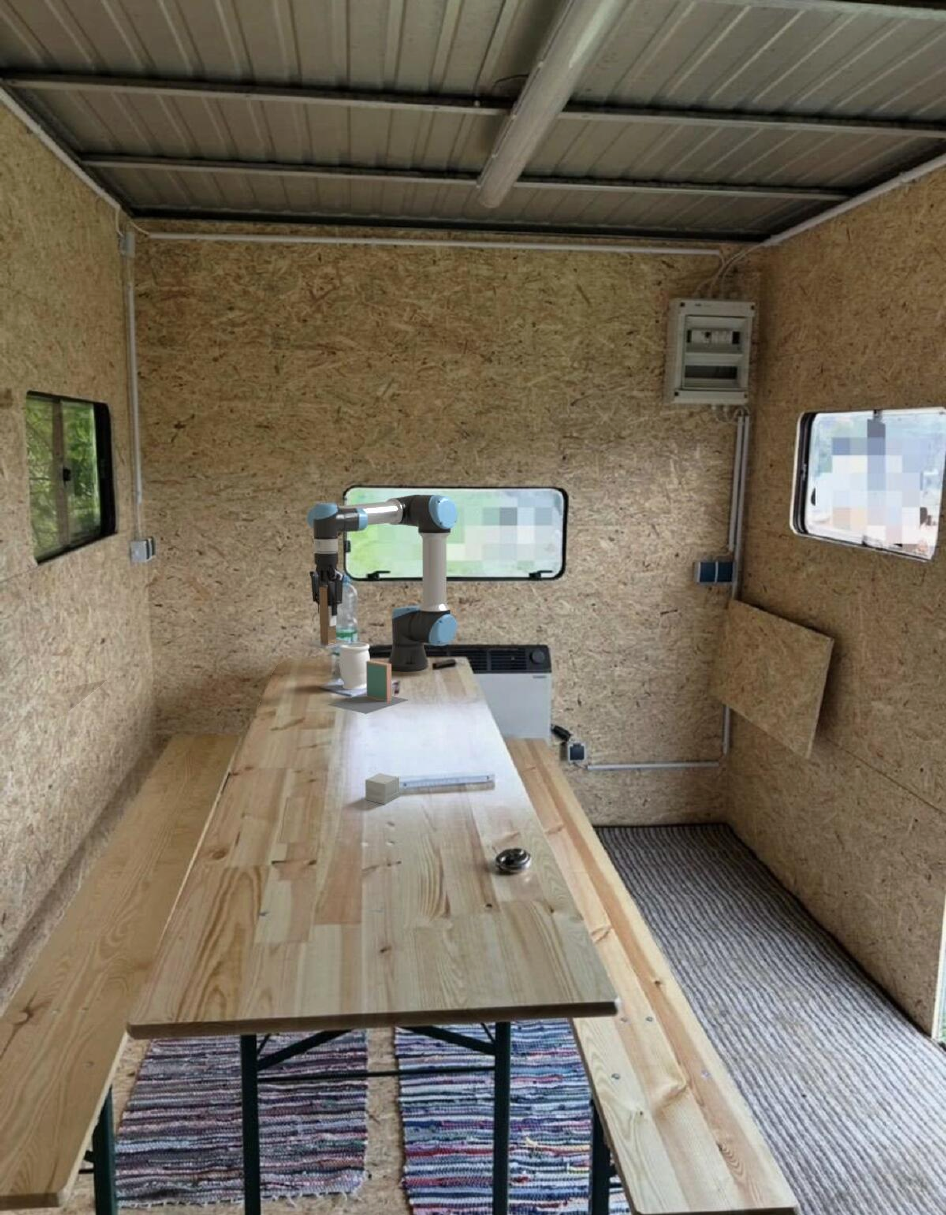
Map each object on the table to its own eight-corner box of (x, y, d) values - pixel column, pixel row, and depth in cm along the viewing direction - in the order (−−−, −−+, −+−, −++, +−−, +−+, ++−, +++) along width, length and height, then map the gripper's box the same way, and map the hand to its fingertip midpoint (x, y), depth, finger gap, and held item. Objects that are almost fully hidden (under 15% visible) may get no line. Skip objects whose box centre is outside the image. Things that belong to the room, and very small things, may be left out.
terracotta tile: (370, 696, 283) (370, 660, 281) (391, 700, 278) (391, 663, 276) (366, 697, 282) (365, 661, 280) (387, 701, 276) (386, 665, 274)
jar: (335, 685, 298) (334, 643, 296) (364, 682, 303) (363, 640, 300) (344, 693, 289) (343, 649, 287) (374, 689, 293) (373, 646, 291)
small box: (399, 797, 198) (399, 776, 197) (385, 805, 193) (384, 784, 192) (379, 792, 201) (379, 772, 200) (364, 800, 196) (364, 779, 195)
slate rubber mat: (370, 693, 289) (370, 691, 289) (409, 701, 279) (409, 699, 279) (326, 706, 273) (326, 704, 273) (366, 715, 263) (366, 713, 263)
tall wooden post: (330, 641, 286) (329, 584, 283) (348, 644, 281) (347, 586, 278) (308, 646, 278) (306, 587, 275) (325, 649, 273) (324, 589, 270)
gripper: (299, 551, 276) (301, 623, 280) (336, 554, 267) (338, 629, 270) (316, 549, 282) (318, 620, 286) (353, 552, 273) (354, 626, 276)
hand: (327, 624), depth 278 cm, fingers closed on tall wooden post, 3 cm apart
